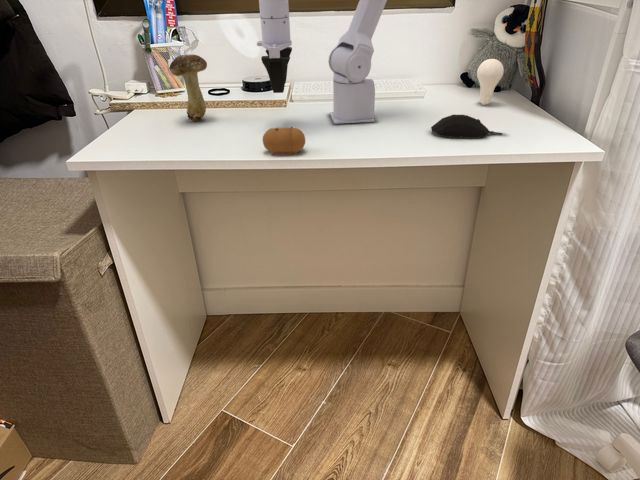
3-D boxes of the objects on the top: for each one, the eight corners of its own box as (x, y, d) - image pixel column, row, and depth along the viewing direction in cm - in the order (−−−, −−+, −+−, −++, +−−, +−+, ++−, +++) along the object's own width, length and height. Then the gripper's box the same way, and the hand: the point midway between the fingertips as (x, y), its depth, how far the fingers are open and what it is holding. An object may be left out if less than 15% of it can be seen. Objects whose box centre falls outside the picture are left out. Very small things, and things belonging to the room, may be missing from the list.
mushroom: (206, 127, 101) (195, 58, 93) (171, 125, 103) (157, 57, 94) (222, 115, 109) (212, 50, 101) (189, 114, 110) (178, 50, 102)
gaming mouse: (505, 139, 91) (509, 120, 88) (432, 138, 92) (434, 119, 90) (498, 129, 96) (502, 111, 94) (429, 128, 97) (431, 110, 95)
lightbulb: (500, 108, 109) (509, 61, 103) (475, 108, 109) (483, 61, 103) (492, 101, 114) (501, 56, 108) (468, 101, 114) (476, 56, 108)
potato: (306, 147, 89) (305, 123, 87) (305, 156, 85) (304, 131, 83) (265, 147, 90) (262, 124, 87) (262, 156, 85) (260, 132, 83)
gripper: (258, 13, 93) (264, 80, 100) (250, 22, 81) (257, 97, 88) (291, 12, 93) (295, 79, 100) (288, 21, 81) (292, 96, 88)
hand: (279, 87), depth 94 cm, fingers open, 7 cm apart
